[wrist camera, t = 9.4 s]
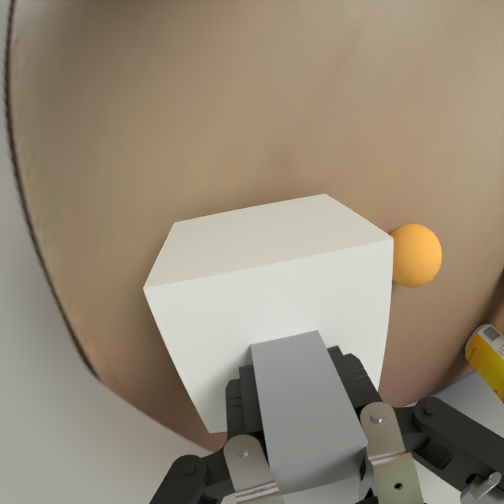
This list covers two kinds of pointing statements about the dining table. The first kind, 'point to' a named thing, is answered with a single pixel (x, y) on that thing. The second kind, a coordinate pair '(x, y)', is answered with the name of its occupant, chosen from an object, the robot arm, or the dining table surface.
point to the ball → (415, 255)
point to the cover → (278, 323)
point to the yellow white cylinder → (488, 356)
